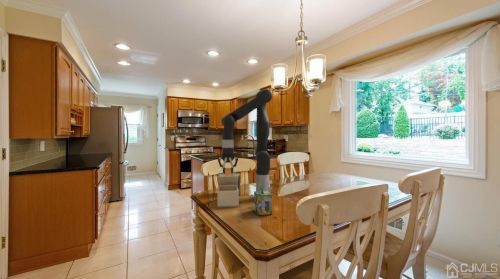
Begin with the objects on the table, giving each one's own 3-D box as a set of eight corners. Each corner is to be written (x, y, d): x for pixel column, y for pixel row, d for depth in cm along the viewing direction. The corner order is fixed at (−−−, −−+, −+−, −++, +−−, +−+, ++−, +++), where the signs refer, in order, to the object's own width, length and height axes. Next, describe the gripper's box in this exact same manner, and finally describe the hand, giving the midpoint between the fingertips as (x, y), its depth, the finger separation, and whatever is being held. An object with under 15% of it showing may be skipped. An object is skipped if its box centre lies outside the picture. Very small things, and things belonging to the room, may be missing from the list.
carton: (237, 199, 148) (237, 184, 148) (238, 206, 134) (238, 191, 133) (218, 199, 147) (218, 185, 147) (217, 207, 132) (217, 191, 132)
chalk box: (272, 214, 121) (272, 188, 121) (256, 215, 120) (256, 189, 119) (268, 208, 130) (268, 184, 130) (253, 209, 129) (253, 185, 128)
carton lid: (237, 184, 147) (237, 176, 151) (238, 176, 135) (238, 167, 139) (218, 185, 146) (218, 177, 149) (217, 176, 134) (217, 167, 137)
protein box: (218, 192, 164) (218, 172, 164) (239, 192, 166) (239, 172, 165) (218, 197, 154) (218, 175, 153) (239, 196, 155) (239, 175, 155)
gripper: (238, 146, 143) (238, 172, 143) (216, 146, 141) (217, 172, 142) (239, 147, 135) (239, 174, 136) (216, 147, 134) (216, 174, 134)
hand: (228, 173), depth 139 cm, fingers closed on carton lid, 4 cm apart
